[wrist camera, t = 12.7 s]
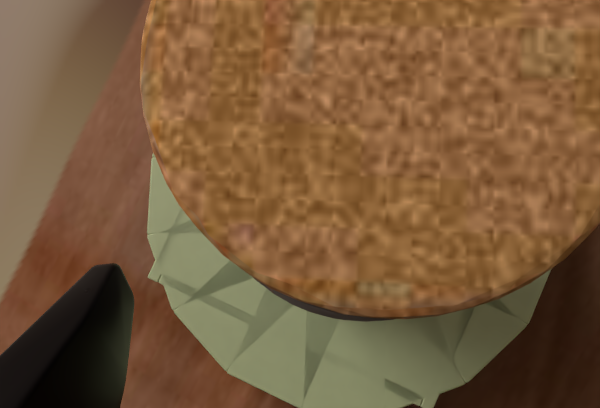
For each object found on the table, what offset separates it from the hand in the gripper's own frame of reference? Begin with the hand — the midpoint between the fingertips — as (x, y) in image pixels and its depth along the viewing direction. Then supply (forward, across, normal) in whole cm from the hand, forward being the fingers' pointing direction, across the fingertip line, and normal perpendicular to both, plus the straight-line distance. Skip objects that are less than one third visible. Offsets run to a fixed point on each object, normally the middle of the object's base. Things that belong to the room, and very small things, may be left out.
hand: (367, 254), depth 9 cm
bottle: (+8, 0, +6) cm, 10 cm away
